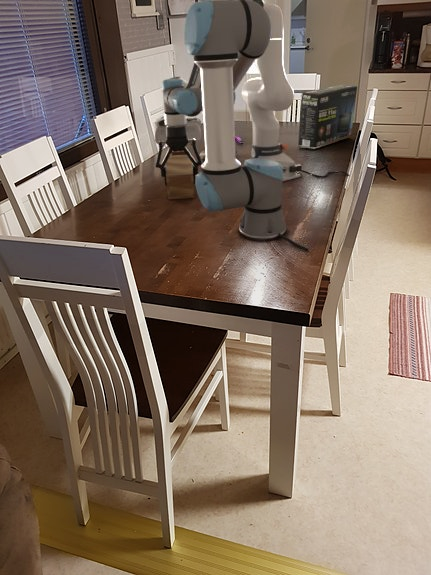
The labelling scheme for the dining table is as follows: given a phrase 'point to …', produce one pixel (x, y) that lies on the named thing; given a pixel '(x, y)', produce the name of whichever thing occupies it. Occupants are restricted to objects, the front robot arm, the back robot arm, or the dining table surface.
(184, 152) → the drawer
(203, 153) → the fossil
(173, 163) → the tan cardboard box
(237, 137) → the handgun
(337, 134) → the router box
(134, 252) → the dining table surface
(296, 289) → the dining table surface
